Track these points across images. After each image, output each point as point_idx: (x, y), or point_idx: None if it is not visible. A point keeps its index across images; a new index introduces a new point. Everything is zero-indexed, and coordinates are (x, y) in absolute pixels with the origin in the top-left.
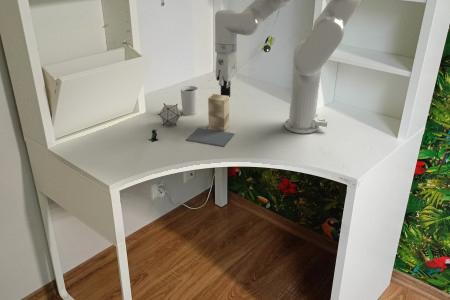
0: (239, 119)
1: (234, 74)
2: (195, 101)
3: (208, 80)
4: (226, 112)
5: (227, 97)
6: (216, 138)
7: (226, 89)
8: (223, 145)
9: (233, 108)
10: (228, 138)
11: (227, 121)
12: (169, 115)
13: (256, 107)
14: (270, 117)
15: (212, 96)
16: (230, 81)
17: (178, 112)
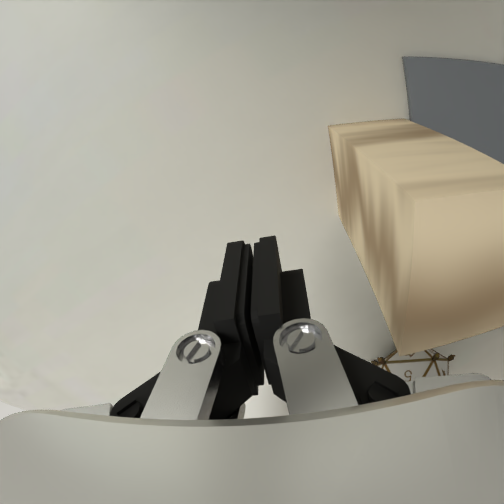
0: (191, 127)
1: (98, 480)
2: (267, 389)
3: (23, 396)
4: (419, 145)
5: (465, 196)
6: (486, 123)
7: (300, 318)
8: None
9: (91, 239)
10: (467, 67)
11: (366, 130)
12: (446, 374)
13: (14, 155)
14: (69, 12)
15: (460, 329)
16: (175, 386)
17: (410, 372)
